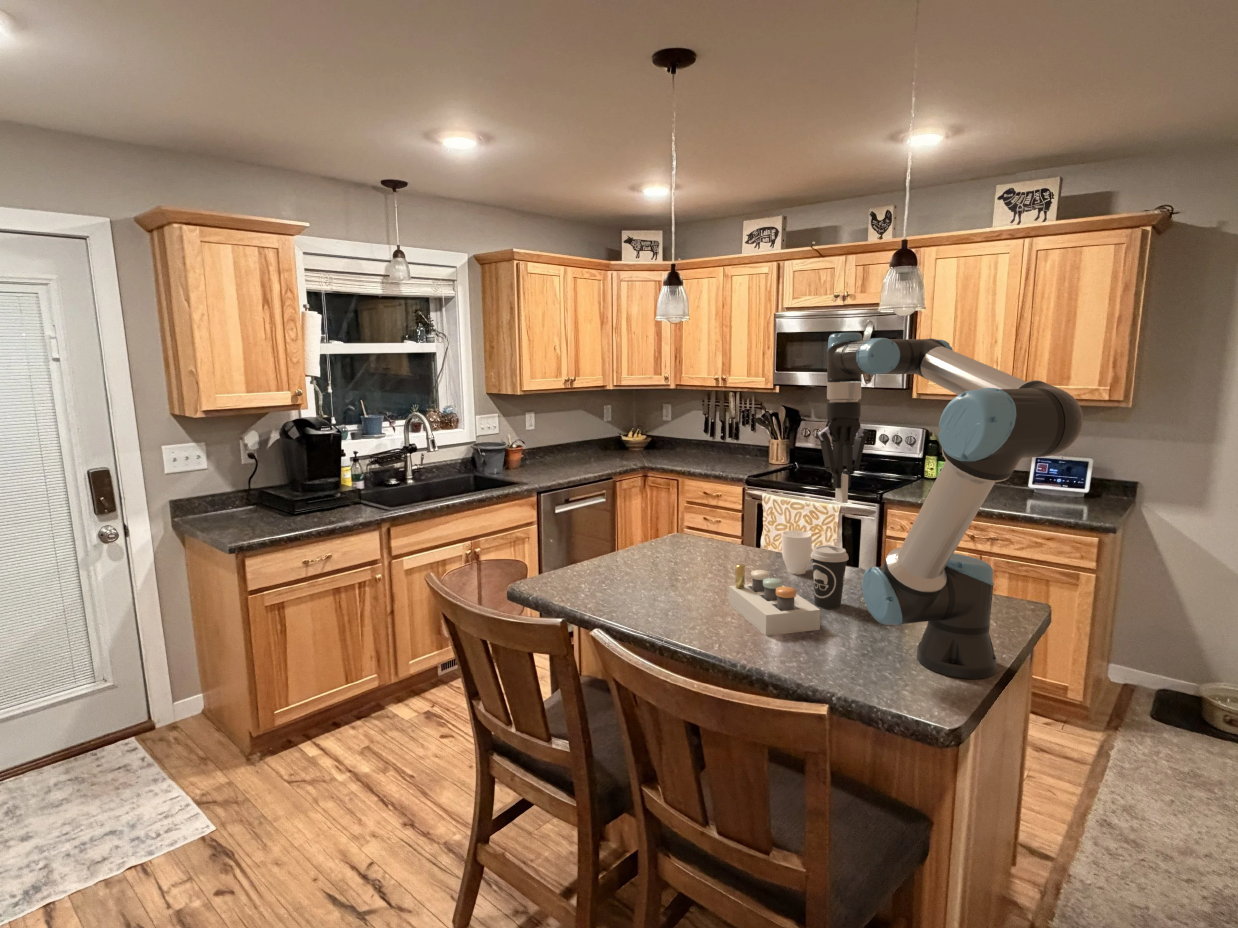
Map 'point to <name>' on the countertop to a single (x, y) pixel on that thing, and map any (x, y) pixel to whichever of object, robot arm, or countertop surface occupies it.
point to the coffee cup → (828, 575)
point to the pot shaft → (740, 576)
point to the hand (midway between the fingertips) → (841, 501)
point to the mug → (796, 550)
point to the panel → (774, 612)
